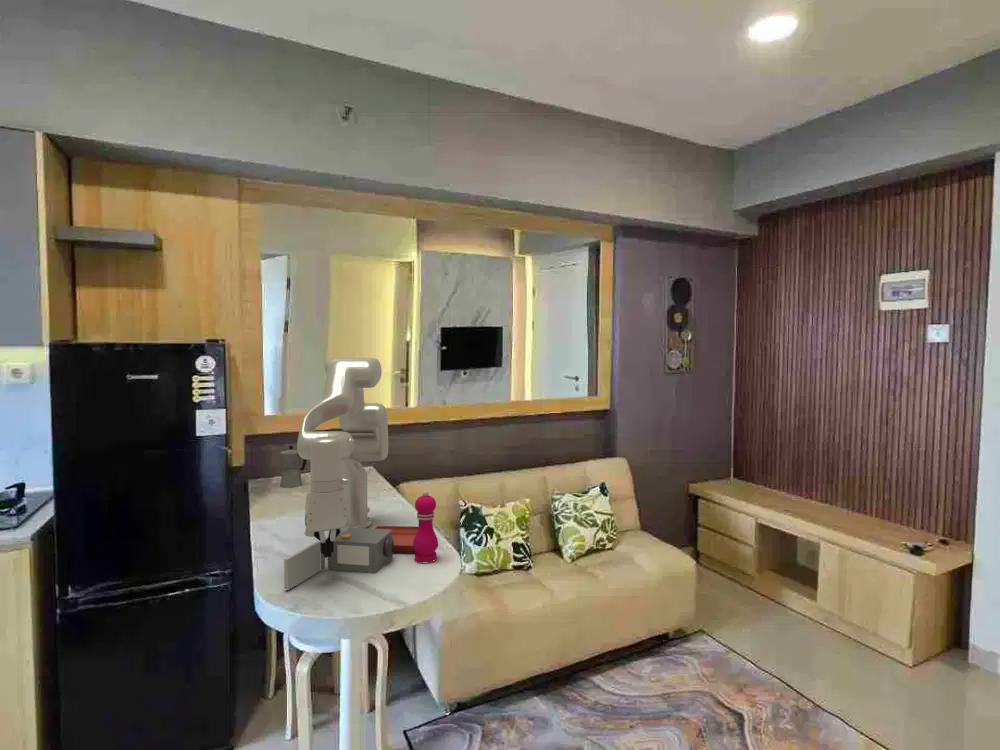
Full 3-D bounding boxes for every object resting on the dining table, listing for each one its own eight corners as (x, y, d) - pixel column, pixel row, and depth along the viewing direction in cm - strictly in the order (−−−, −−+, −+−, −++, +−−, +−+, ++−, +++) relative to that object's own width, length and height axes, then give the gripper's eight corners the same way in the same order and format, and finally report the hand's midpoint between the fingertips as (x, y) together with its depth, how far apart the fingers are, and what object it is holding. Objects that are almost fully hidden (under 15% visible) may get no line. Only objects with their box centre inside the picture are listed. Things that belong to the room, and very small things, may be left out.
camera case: (347, 553, 163) (346, 524, 162) (396, 557, 160) (396, 527, 160) (327, 569, 151) (327, 537, 150) (380, 573, 148) (380, 541, 148)
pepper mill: (414, 565, 154) (414, 494, 153) (411, 556, 161) (411, 488, 160) (440, 562, 156) (440, 492, 155) (435, 553, 163) (435, 486, 162)
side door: (325, 568, 151) (325, 540, 151) (289, 590, 136) (289, 559, 136) (320, 567, 151) (320, 539, 151) (284, 590, 137) (284, 559, 137)
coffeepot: (271, 486, 245) (271, 446, 244) (286, 482, 254) (286, 443, 253) (300, 489, 240) (299, 448, 239) (314, 484, 249) (314, 445, 248)
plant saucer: (431, 535, 181) (431, 525, 180) (424, 555, 162) (424, 544, 162) (376, 535, 180) (376, 525, 180) (362, 555, 162) (362, 544, 162)
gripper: (352, 478, 148) (353, 546, 149) (293, 485, 141) (294, 555, 142) (359, 485, 141) (359, 555, 142) (297, 492, 134) (298, 566, 135)
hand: (327, 555), depth 142 cm, fingers closed
